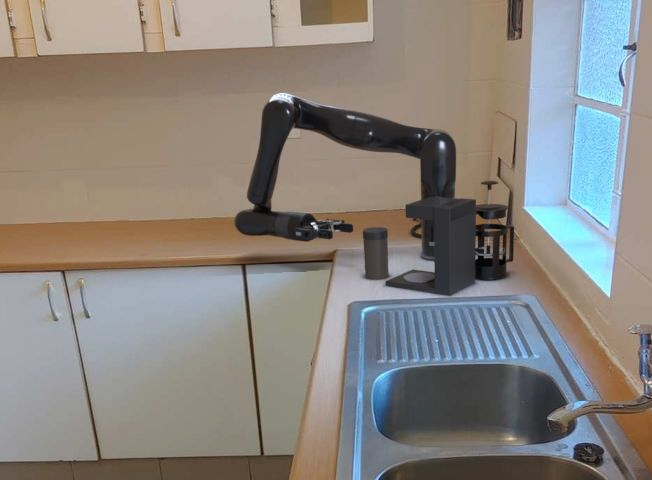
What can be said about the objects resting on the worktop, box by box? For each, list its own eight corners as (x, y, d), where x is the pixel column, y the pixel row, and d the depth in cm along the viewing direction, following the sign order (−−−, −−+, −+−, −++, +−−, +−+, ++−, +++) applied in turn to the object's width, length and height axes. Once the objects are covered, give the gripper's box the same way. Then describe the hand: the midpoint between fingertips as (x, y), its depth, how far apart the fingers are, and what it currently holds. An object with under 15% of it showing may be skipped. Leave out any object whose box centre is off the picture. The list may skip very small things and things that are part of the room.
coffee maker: (385, 285, 184) (382, 203, 176) (412, 273, 193) (411, 194, 185) (449, 295, 173) (449, 208, 166) (475, 282, 182) (476, 199, 174)
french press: (475, 282, 182) (476, 186, 173) (460, 273, 190) (460, 180, 181) (520, 276, 184) (523, 181, 175) (503, 267, 193) (505, 176, 184)
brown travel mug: (370, 272, 196) (368, 226, 192) (392, 273, 194) (390, 227, 189) (361, 278, 191) (358, 232, 186) (384, 280, 189) (382, 232, 184)
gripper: (276, 217, 198) (323, 222, 188) (311, 207, 208) (358, 212, 198) (279, 245, 201) (325, 251, 191) (313, 234, 211) (359, 240, 201)
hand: (342, 231), depth 195 cm, fingers open, 8 cm apart
